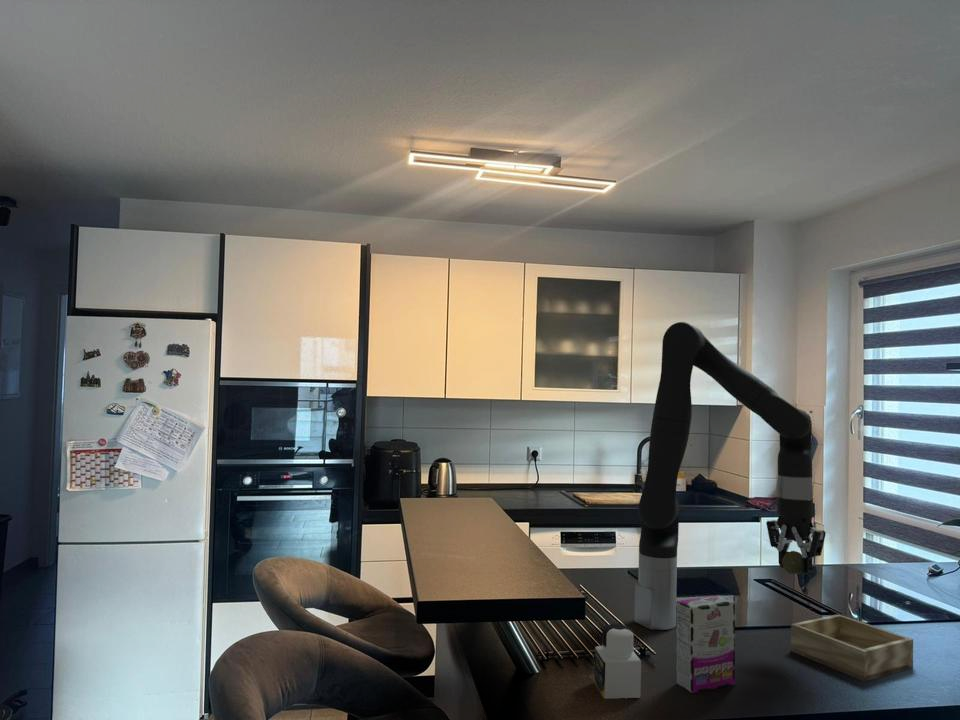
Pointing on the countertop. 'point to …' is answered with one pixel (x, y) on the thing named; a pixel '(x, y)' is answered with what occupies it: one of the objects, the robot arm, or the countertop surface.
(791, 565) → the lime
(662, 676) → the countertop surface
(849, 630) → the crate
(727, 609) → the candy bar box
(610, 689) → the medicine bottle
